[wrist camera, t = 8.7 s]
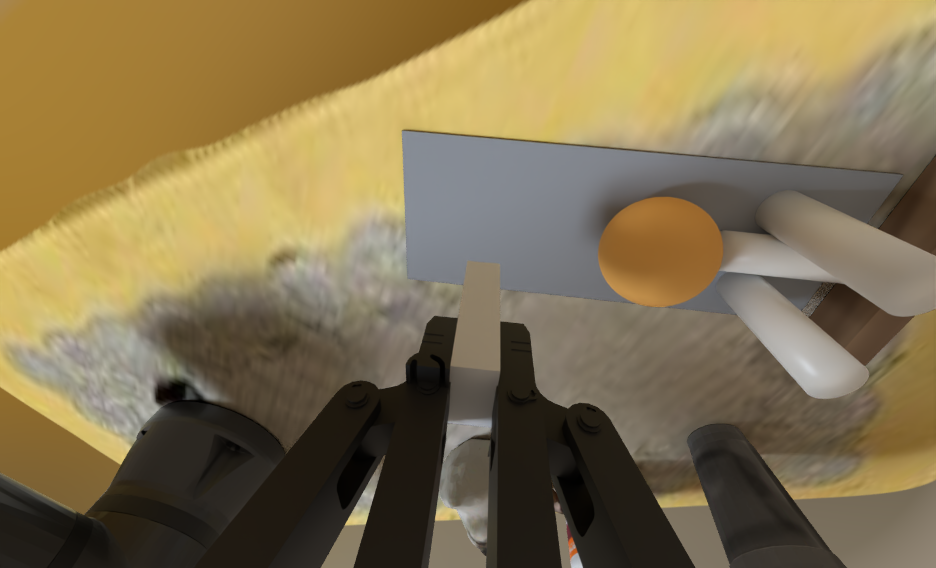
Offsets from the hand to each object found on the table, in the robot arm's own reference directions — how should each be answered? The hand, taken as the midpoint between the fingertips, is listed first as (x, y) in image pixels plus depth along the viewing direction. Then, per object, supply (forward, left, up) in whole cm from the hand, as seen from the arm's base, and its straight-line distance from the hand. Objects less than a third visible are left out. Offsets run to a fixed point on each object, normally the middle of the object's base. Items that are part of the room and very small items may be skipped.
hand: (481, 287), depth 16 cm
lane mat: (+8, 0, -7) cm, 11 cm away
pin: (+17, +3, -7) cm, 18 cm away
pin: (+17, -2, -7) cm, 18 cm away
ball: (+9, +1, -4) cm, 10 cm away
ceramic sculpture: (+3, -28, -8) cm, 29 cm away
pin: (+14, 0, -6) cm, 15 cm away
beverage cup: (+23, -19, -8) cm, 30 cm away
